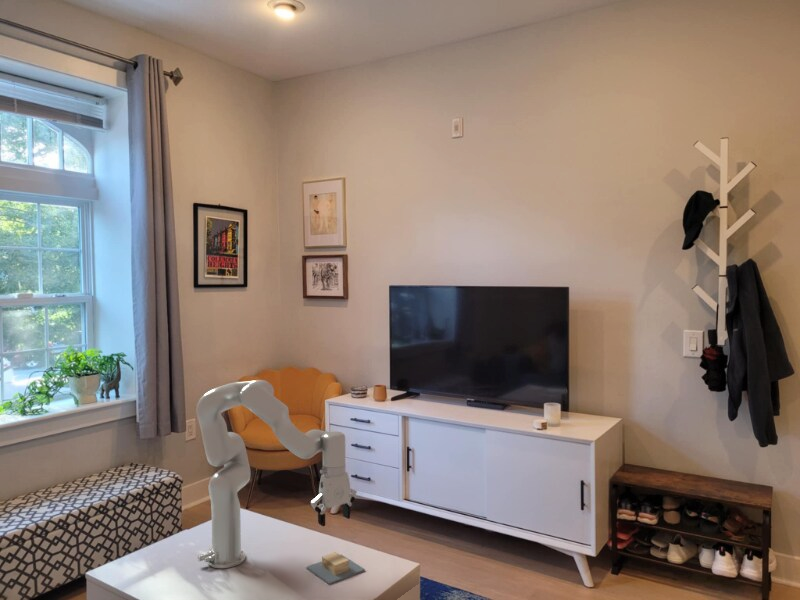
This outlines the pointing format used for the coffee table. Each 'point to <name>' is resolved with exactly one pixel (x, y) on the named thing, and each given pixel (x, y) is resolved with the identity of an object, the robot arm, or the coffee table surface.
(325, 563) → the light brown rectangular block
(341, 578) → the mat
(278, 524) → the coffee table surface
